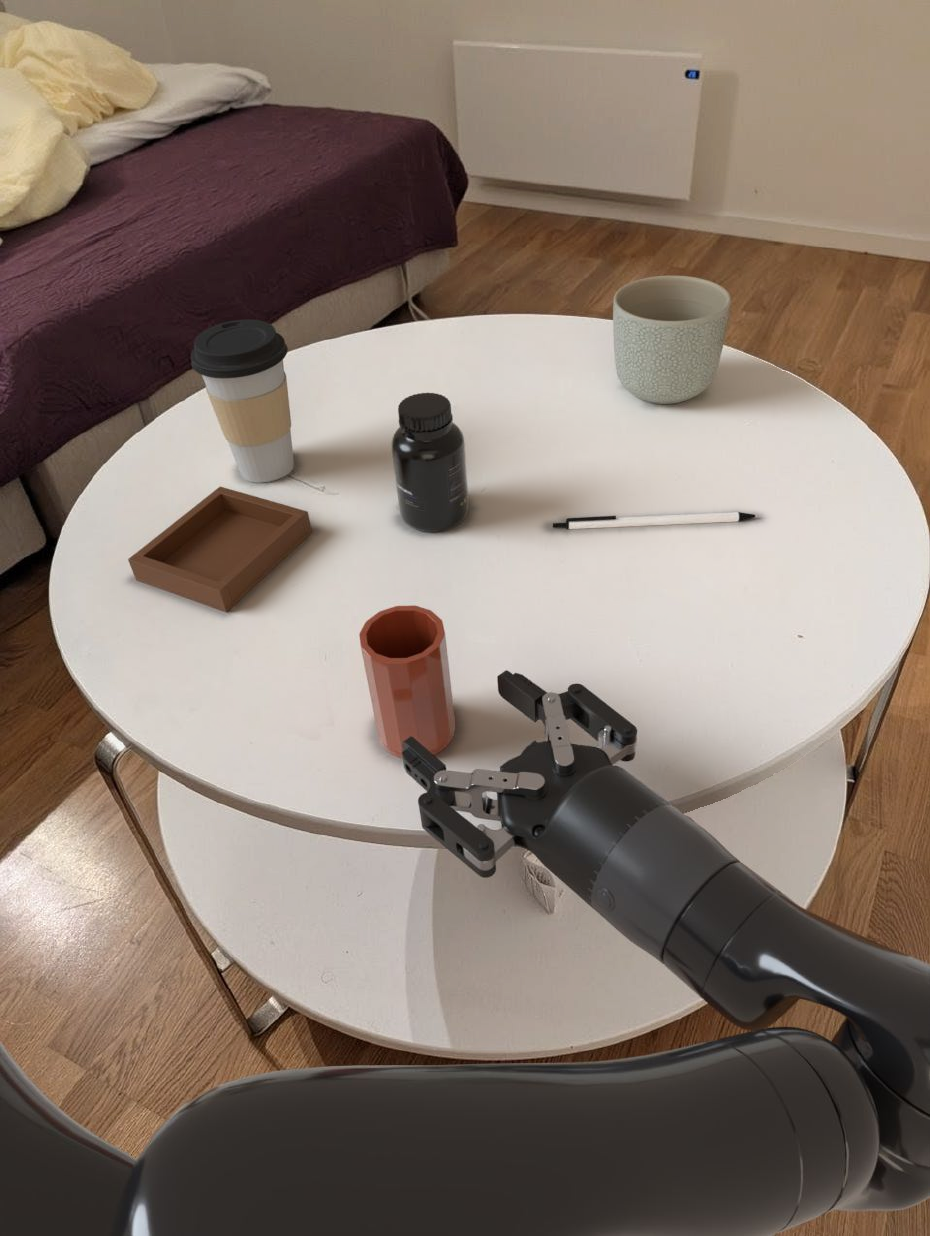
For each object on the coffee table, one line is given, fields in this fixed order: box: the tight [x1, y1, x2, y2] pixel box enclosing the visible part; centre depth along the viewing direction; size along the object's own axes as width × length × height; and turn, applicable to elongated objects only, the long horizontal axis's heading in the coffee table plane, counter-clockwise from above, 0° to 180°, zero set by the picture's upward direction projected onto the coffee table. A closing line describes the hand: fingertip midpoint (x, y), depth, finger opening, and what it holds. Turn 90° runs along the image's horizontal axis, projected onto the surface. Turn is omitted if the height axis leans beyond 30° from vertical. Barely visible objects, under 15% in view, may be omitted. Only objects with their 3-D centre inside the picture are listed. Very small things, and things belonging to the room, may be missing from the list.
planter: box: [612, 275, 732, 405], centre depth 102 cm, size 12×12×11 cm
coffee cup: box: [190, 319, 295, 484], centre depth 94 cm, size 9×9×15 cm
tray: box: [127, 486, 313, 613], centre depth 87 cm, size 13×11×2 cm
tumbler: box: [358, 605, 456, 759], centre depth 66 cm, size 6×6×10 cm
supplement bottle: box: [391, 392, 469, 533], centre depth 87 cm, size 7×7×12 cm
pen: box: [552, 511, 758, 530], centre depth 87 cm, size 1×19×1 cm, turn 89°
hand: (455, 713), depth 63 cm, fingers open, 8 cm apart
